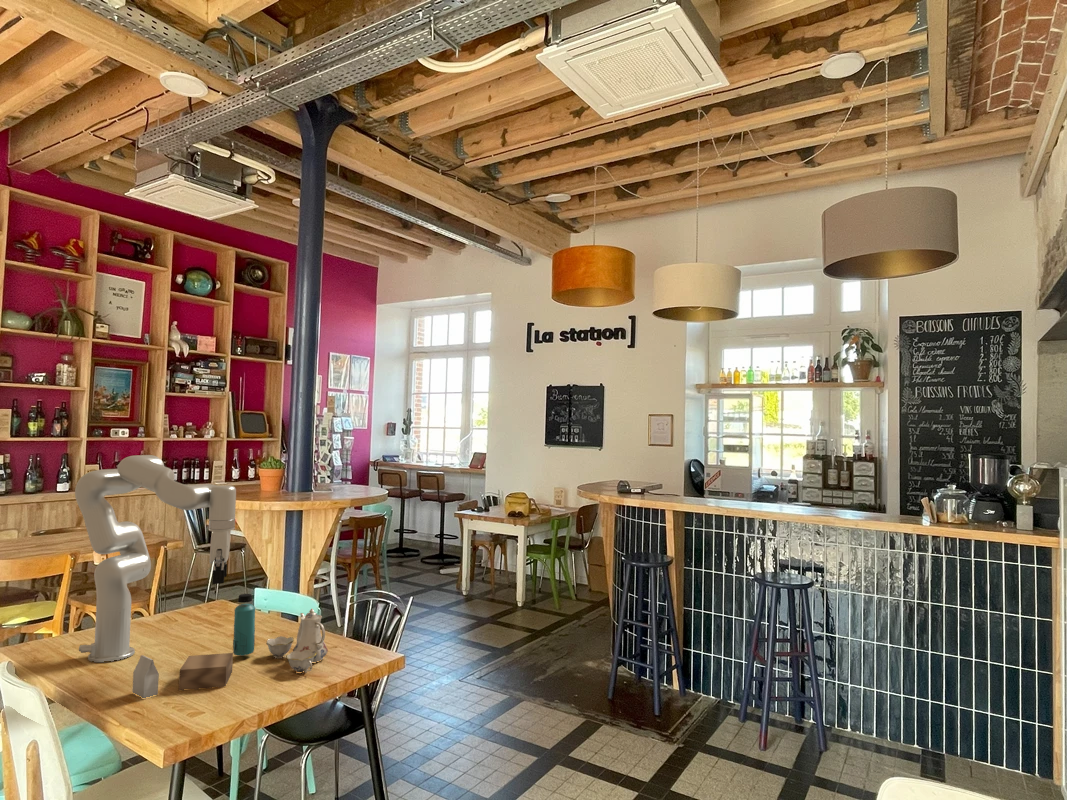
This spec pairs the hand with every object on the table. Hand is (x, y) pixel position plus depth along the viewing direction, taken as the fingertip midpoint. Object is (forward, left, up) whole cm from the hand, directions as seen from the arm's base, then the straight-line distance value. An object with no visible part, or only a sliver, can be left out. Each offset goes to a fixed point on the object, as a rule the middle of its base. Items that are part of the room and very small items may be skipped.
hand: (219, 580), depth 207 cm
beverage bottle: (+7, +5, -26) cm, 28 cm away
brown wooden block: (-1, -14, -26) cm, 30 cm away
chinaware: (+25, -4, -26) cm, 36 cm away
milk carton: (-15, -20, -26) cm, 36 cm away
